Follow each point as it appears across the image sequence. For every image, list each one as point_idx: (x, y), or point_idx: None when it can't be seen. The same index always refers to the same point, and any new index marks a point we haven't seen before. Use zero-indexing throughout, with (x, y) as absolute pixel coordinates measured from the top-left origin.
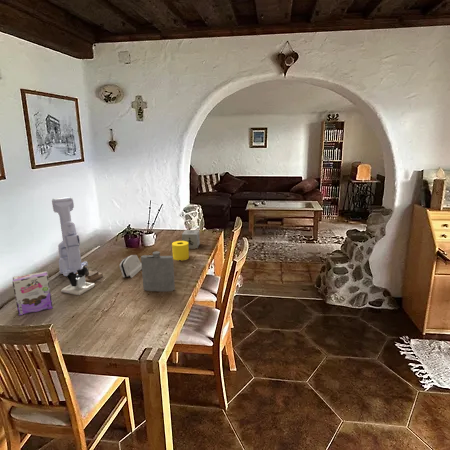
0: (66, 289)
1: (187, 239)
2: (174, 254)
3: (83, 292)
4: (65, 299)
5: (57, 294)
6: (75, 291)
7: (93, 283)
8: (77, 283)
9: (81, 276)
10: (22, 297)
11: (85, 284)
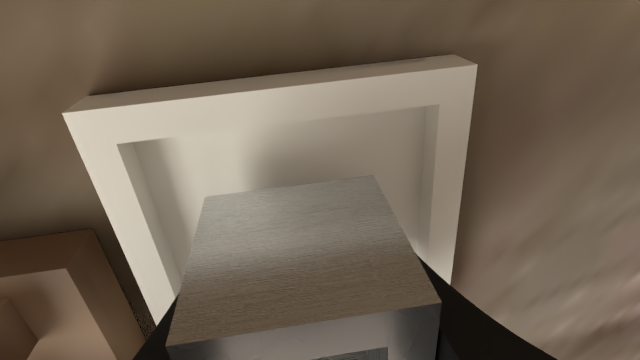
0: None
1: None
2: None
3: (362, 66)
4: (591, 128)
5: (487, 293)
6: (453, 149)
7: (77, 130)
8: (403, 239)
9: (261, 355)
10: None
11: (215, 198)
